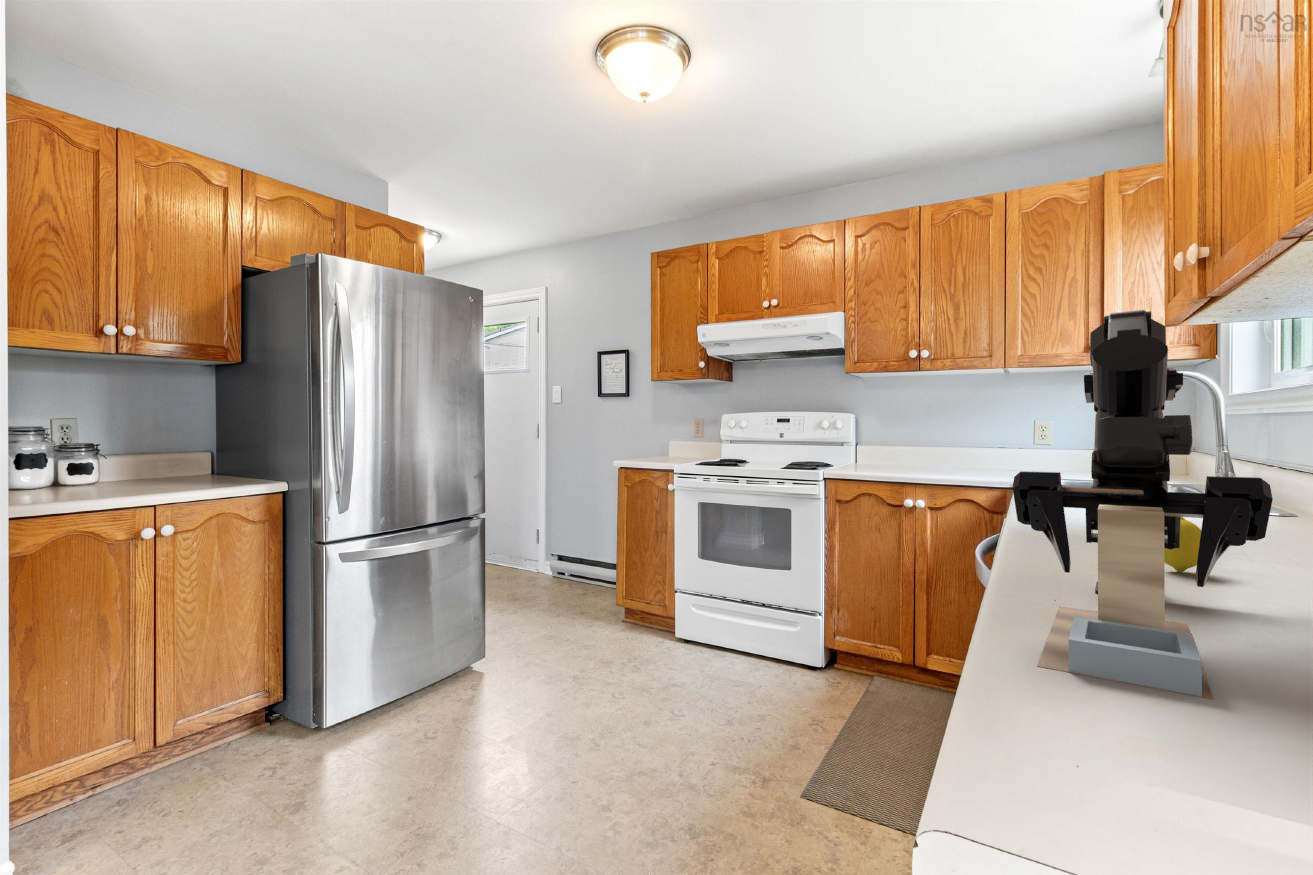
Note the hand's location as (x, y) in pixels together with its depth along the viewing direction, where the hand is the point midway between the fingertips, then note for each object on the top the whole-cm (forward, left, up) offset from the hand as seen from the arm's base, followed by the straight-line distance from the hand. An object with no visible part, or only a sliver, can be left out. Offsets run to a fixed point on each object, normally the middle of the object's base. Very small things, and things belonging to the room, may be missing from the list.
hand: (1130, 576), depth 54 cm
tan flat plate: (-1, -1, -7) cm, 7 cm away
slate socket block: (+6, 0, -6) cm, 9 cm away
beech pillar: (-1, 0, -6) cm, 6 cm away
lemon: (-48, +6, -7) cm, 49 cm away
